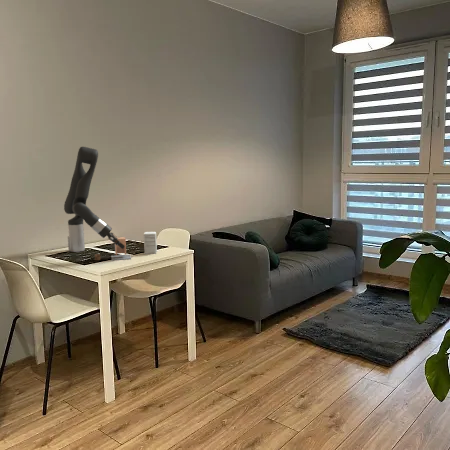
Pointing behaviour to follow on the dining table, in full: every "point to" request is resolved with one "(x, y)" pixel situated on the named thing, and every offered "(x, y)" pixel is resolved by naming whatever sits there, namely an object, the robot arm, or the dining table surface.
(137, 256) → the dining table surface
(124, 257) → the grey mat
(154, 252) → the supplement box
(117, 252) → the terracotta cover
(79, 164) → the robot arm
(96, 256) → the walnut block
